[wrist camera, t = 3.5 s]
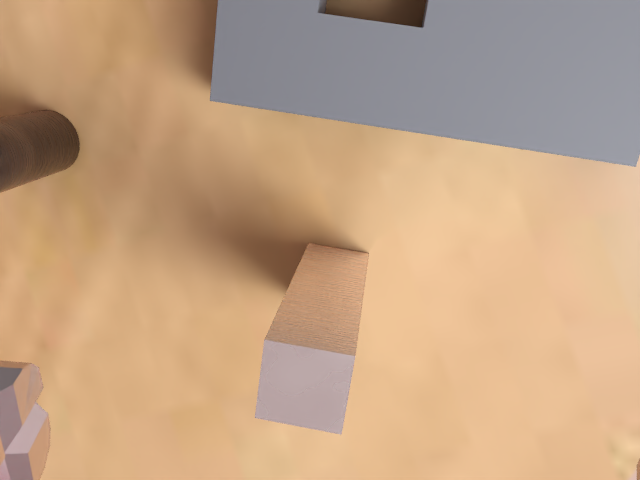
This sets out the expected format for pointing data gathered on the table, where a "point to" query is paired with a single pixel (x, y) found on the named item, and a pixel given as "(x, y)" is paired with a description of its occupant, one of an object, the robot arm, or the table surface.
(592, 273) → the table surface
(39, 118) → the round bit
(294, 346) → the square bit
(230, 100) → the socket board
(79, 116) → the table surface
